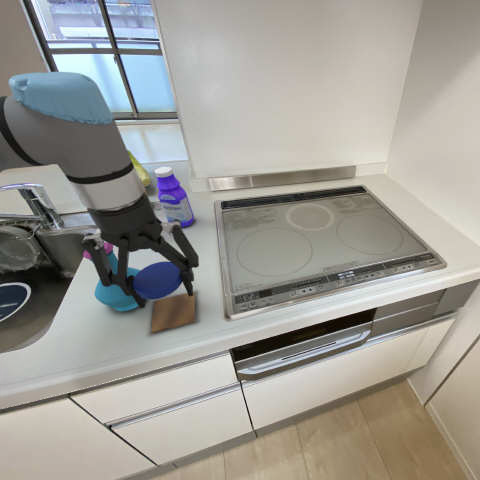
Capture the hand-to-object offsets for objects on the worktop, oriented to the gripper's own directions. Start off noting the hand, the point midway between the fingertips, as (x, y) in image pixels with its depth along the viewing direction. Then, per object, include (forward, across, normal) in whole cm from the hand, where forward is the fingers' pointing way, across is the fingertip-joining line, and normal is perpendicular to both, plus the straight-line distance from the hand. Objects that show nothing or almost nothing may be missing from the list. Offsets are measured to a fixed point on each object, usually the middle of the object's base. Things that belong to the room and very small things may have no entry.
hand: (167, 296), depth 52 cm
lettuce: (+5, +16, -63) cm, 65 cm away
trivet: (+5, 0, 0) cm, 5 cm away
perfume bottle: (+5, +9, -7) cm, 13 cm away
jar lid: (-6, 0, 0) cm, 6 cm away
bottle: (+5, -1, -34) cm, 34 cm away
